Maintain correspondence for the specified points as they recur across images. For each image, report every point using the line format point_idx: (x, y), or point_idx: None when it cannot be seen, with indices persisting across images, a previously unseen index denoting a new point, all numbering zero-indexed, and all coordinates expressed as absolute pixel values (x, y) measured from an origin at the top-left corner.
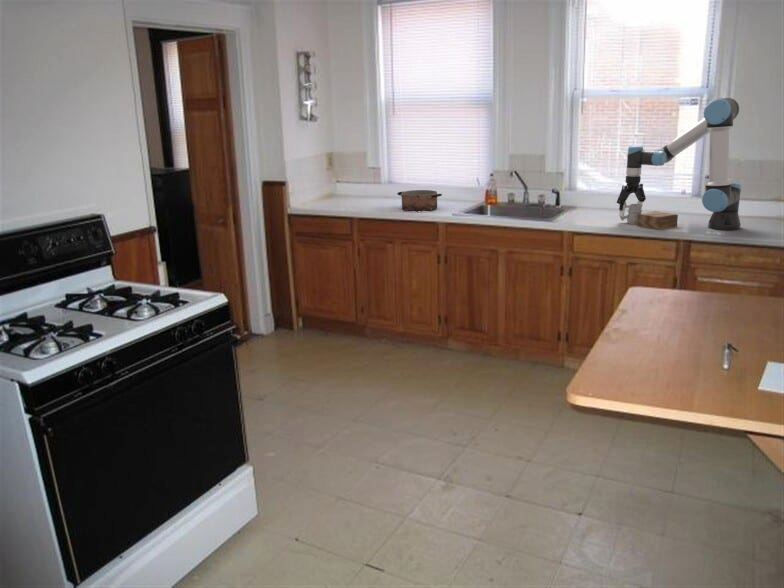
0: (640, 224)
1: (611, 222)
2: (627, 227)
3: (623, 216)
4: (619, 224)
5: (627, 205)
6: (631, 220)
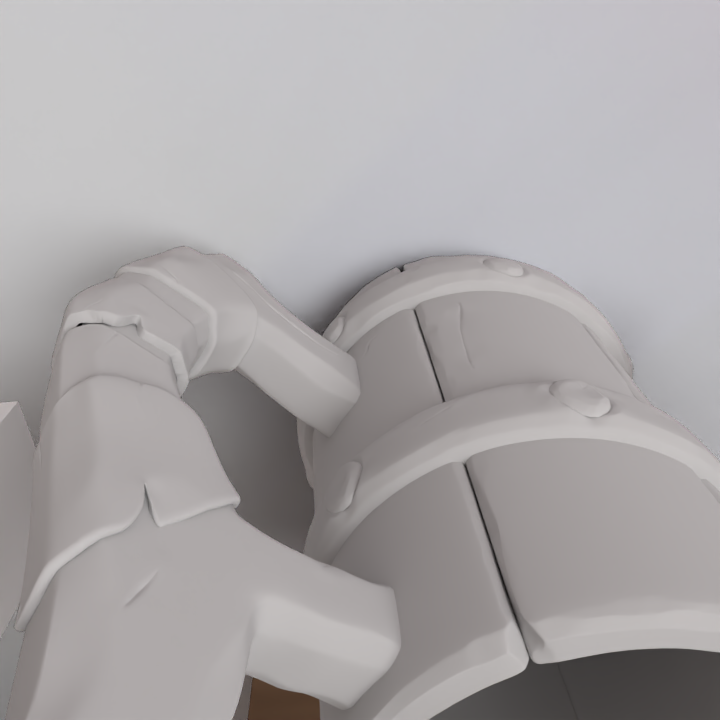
0: None
1: (25, 34)
2: None
3: None
4: None
5: (291, 660)
6: (307, 479)
